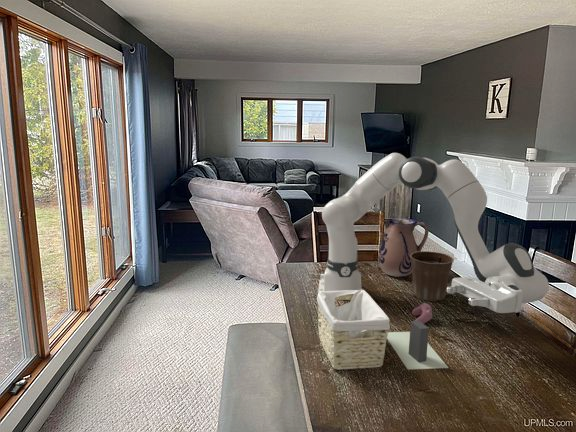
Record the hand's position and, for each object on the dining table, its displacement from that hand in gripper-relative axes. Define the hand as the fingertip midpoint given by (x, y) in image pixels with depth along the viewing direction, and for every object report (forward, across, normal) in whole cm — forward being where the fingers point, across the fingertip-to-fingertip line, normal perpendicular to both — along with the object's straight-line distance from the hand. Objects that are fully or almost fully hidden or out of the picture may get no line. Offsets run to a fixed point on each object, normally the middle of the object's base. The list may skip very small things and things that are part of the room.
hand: (458, 296), depth 124 cm
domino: (+12, 0, +17) cm, 21 cm away
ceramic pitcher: (-24, -68, +17) cm, 74 cm away
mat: (+11, -5, +18) cm, 21 cm away
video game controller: (-4, -22, +18) cm, 29 cm away
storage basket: (+29, -10, +18) cm, 36 cm away
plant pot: (-20, -42, +18) cm, 49 cm away
